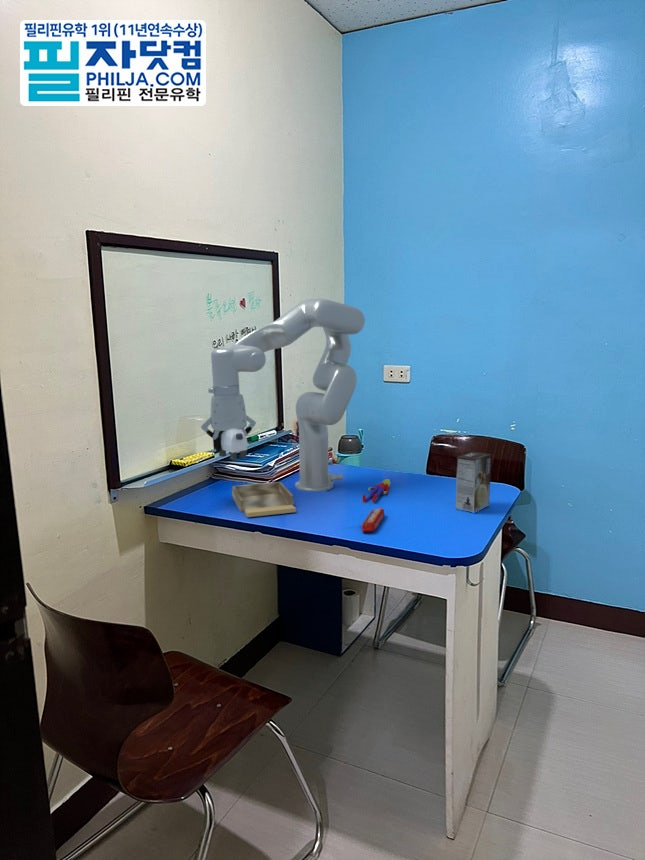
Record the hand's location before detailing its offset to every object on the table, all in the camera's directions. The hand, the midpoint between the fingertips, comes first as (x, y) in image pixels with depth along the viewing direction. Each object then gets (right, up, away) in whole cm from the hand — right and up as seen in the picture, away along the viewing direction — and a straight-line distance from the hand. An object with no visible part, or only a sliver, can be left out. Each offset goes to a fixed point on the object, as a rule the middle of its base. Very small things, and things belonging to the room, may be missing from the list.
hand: (230, 449), depth 188 cm
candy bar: (+41, -20, -15) cm, 49 cm away
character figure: (+45, -15, +13) cm, 49 cm away
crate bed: (+9, -16, +4) cm, 19 cm away
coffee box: (+72, -17, -2) cm, 74 cm away
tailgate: (+12, -18, -5) cm, 22 cm away
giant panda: (0, -2, 0) cm, 2 cm away
